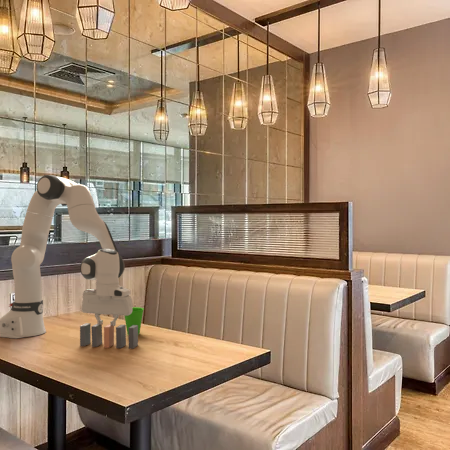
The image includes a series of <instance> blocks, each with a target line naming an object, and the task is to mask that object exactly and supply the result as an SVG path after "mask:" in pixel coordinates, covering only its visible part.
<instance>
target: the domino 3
mask: <svg viewBox="0 0 450 450" xmlns="http://www.w3.org/2000/svg"><path fill="white" fill-rule="evenodd" d="M110 324H111V323H108V324H107V325H105V326H104V327H103V348H111V347H113V346H114V345H115V326H110Z"/></svg>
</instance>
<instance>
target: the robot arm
mask: <svg viewBox="0 0 450 450" xmlns="http://www.w3.org/2000/svg"><path fill="white" fill-rule="evenodd" d="M94 201H95V200H94V198H93V196H92V194H91V191H90V189H89V188H88V187H87V186H86V185H84V184H81V183H78V182H76V181H72V180H70V179H68V178H65V177H60V176H56V175H52V174H45V175H42V176H41V177H40V178H38V181H37V183H36V191H35V192H33V194H32V197H31V198H30V200H29V203H28V205H27V209H26V212H25V213H26V214H25V216H24V221H23V222H22V223H23V224H22V228H21V237H20V244H19V246H17V247H16V248H15V249H14V250H13V252H12V254H11V257H10V261H11V268H12V275H13V281H14V301H13V302H11V303H9V304H8V307H10V310H9V311H8V312H7V313H5V314H4V315H3V316H1V317H0V338H8V339H9V338H10V339H20V338H27V337H35V336H39V335H43V334H46V333H47V330H46V327H45V321H44V315H43V313H44V300H43V281H42V275H41V264H42V263H43V261H44V259H45V256H46V254H45V253H46V249H47V244H48V240H49V233H50V230H51V227H52V222H53V219H54V215H55V211H56V208H57V207H58V206H59V205H61V206H62V207H65V206H66V207H67V211H68V217H69V220H70V223H71V224H72V226H73V227H74V228H75V229H77V230H79V231H81V232H84V233H87V234H89V235H91V236H93V237H95V238H96V239H97V240H98V242H99V244H100V247H101V249H98V251H97V252H96V253H95V254H92V255H90V256H87V257H85V258H84V259H82V260H81V263H80V274H81V276H82V277H83V278H84V280H85V279H86V280H89V281H93V280H96V282H95V288H94V289H90V288H87V289H85V290H84V291H83V292H82V302H81V312H82V313H84V314H94V318H95V319H96V321H97V322H96V324H97V325H103V322H104V320H103V319H101V317H100V316H101V315H112V318H113V320H111V321H109V322H110V323H109V324H110V326H114V327H115V326H117V325H116V324H117V320H118V318H119V317H120V316H124V315H125V316H128V315H130V314H131V313H132V311H133V298H132V297H131V296H130V295H131V293H132V290H131V289H129V288H127V287H126V286H125V287H124V286H122V285H120V280H119V279H120V277H122V276H123V274H124V272H125V266H126V265H125V262H124V259H123V257H122V256H121V255H120V253H119V251H118V248H117V246H116V243H115V241H114V238H113V236H112V233H111V230H110V228H109V227H108V225H107V223H106V222H105V221H104V220H103V218H101V217H100V215H99V213H98V211H97V208H96V206H95V203H94ZM125 316H124V317H125Z"/></svg>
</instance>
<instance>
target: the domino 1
mask: <svg viewBox="0 0 450 450" xmlns="http://www.w3.org/2000/svg"><path fill="white" fill-rule="evenodd" d="M90 344H92V329H91V323H89V322H88V323H84V324H81V325H79V346H80V347H86V345H87V346H89V345H90Z"/></svg>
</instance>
